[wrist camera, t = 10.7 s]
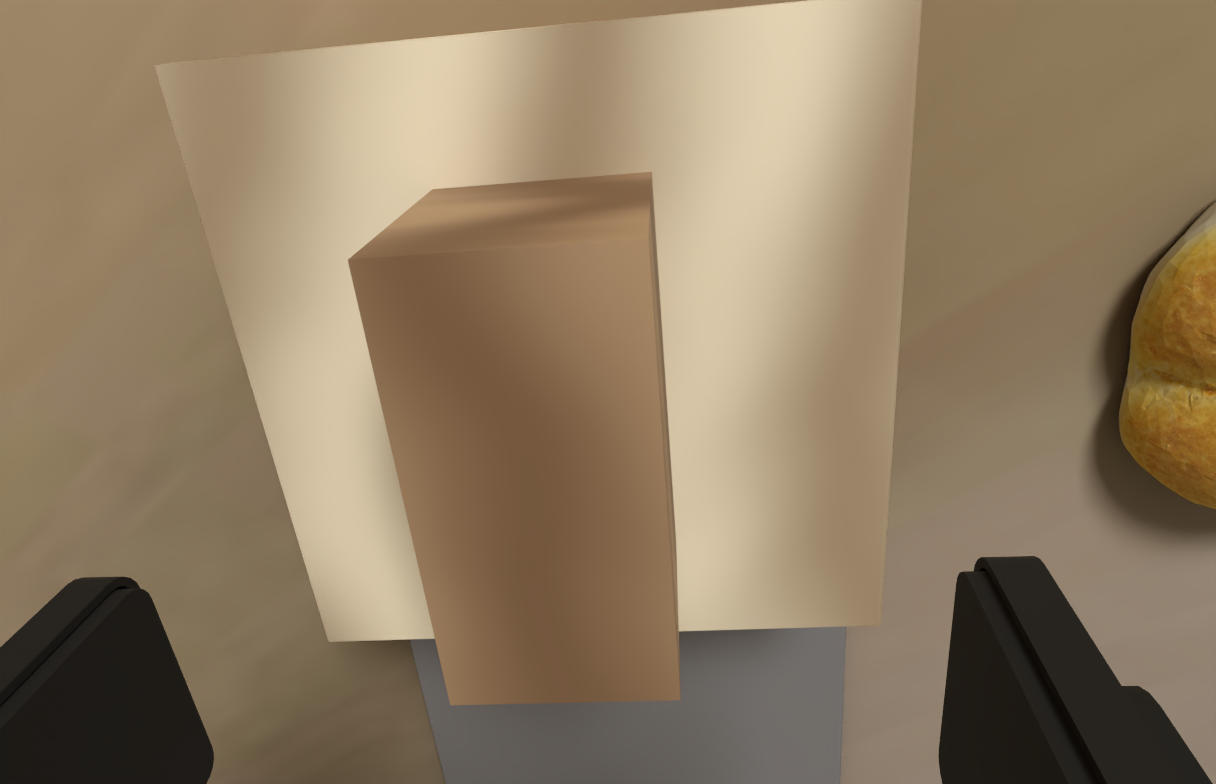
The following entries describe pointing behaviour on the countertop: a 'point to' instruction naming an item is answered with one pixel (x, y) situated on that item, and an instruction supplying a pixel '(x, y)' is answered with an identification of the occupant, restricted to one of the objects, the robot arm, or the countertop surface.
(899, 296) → the birch lid
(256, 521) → the countertop surface
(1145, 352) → the bread roll
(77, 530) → the countertop surface
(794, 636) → the rubber mat
